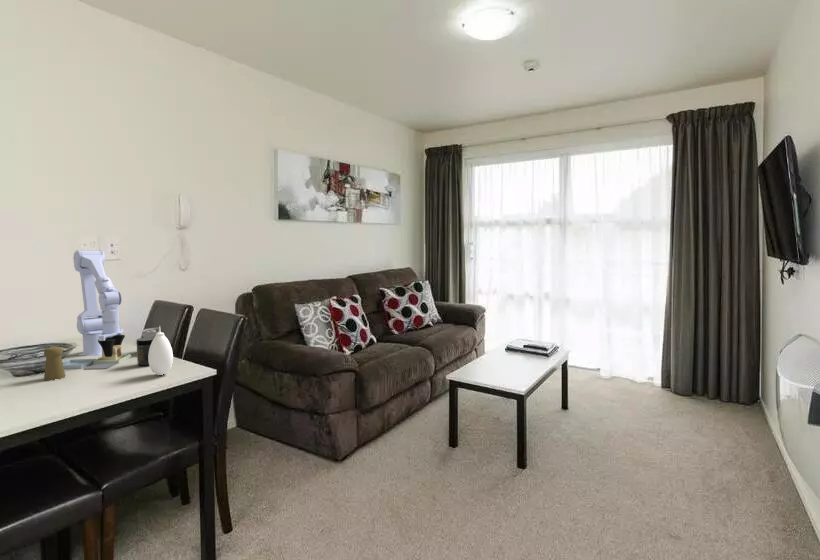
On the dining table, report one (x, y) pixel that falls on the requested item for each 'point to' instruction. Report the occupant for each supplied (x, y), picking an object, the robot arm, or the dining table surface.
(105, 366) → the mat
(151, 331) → the food container
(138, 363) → the supplement container
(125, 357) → the sage tray
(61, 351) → the cork
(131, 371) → the dining table surface
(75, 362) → the blue-grey tray
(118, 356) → the letter block
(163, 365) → the white air blower bulb
